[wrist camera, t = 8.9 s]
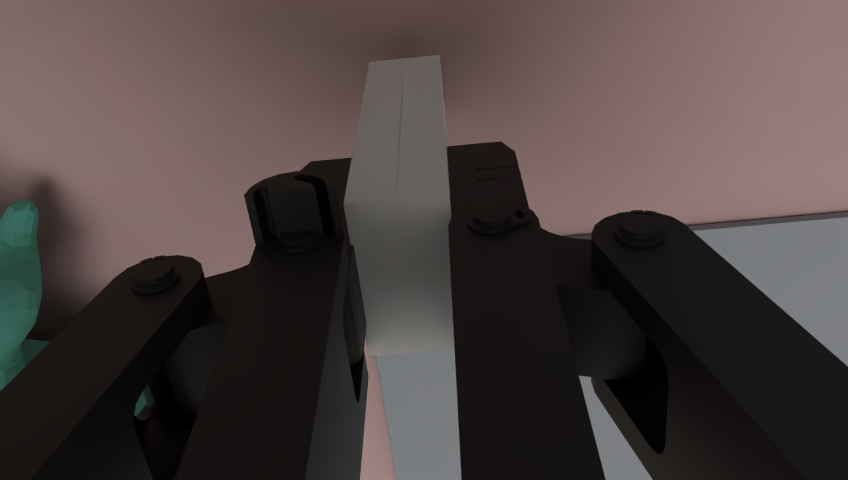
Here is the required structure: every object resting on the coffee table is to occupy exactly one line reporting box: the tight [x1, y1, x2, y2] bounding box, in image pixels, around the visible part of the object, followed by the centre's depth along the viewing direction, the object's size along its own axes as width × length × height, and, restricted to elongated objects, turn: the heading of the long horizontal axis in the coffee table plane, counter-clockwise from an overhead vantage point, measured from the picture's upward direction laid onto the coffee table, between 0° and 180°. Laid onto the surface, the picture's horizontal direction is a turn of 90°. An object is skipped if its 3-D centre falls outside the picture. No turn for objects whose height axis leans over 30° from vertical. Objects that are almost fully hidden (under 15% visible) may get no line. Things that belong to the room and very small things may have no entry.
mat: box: [376, 212, 848, 480], centre depth 27 cm, size 18×18×1 cm
